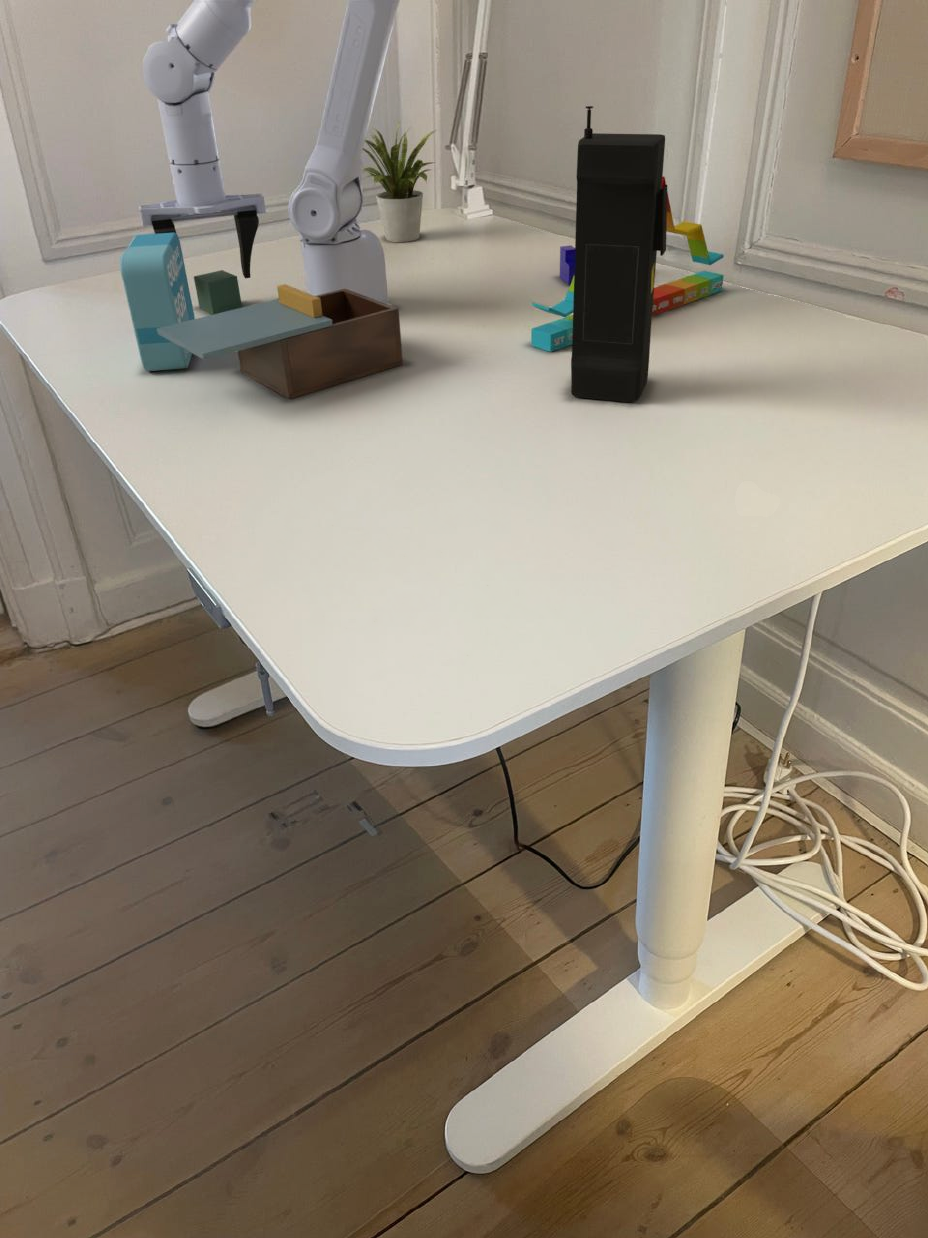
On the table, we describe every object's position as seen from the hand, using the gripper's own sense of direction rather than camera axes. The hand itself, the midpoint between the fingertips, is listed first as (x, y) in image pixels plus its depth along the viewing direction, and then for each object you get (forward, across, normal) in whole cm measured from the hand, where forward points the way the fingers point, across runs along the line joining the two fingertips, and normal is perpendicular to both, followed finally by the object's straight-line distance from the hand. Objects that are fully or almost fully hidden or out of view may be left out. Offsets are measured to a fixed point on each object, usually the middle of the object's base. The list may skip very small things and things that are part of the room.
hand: (215, 279), depth 120 cm
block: (+3, 0, 0) cm, 3 cm away
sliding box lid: (-3, 0, -29) cm, 29 cm away
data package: (+4, -7, -15) cm, 17 cm away
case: (+3, +8, -26) cm, 28 cm away
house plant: (+4, +29, +25) cm, 38 cm away
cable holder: (+4, +48, -8) cm, 49 cm away
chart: (+4, +45, -25) cm, 52 cm away
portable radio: (+4, +33, -44) cm, 55 cm away
